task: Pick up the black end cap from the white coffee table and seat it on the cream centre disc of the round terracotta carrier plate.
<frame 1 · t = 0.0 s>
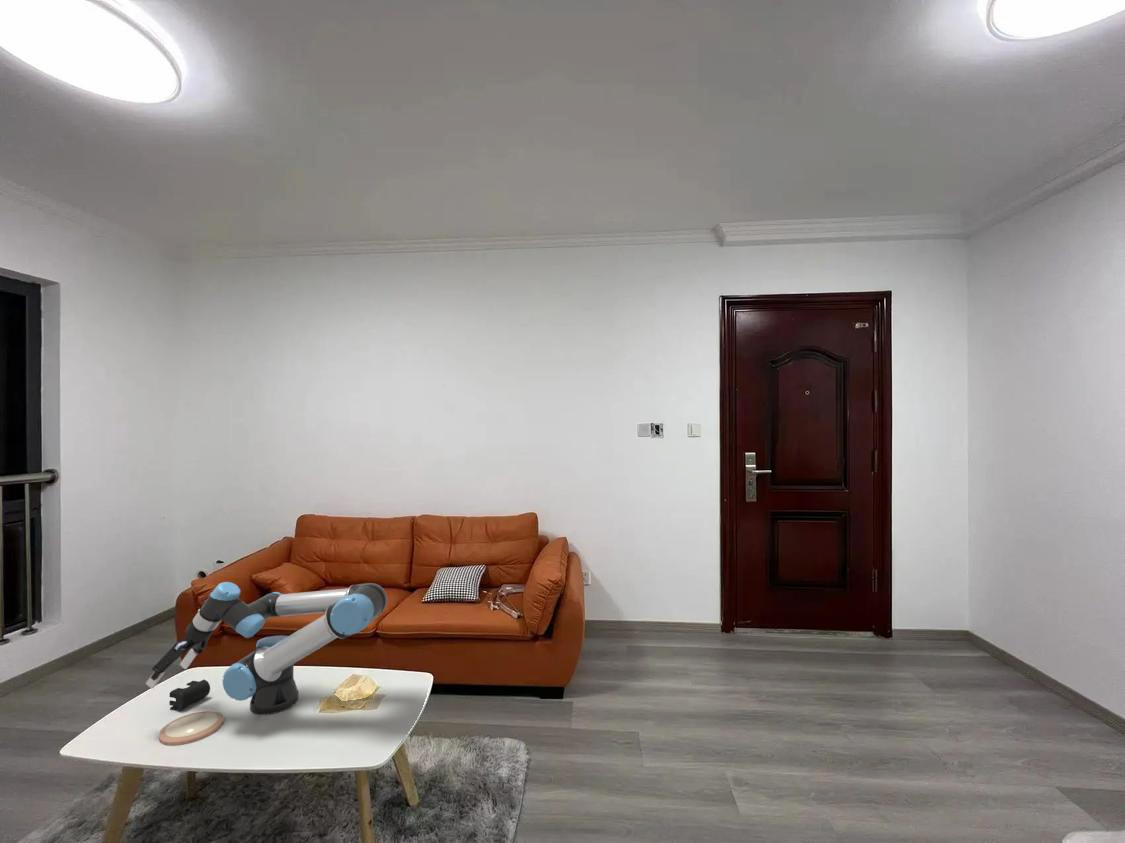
hand: (167, 675, 172), 15 cm above the table, tool tilted 35°, fingers open, 13 cm apart
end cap: (189, 705, 183), on the table
carrier plate: (192, 729, 167), on the table
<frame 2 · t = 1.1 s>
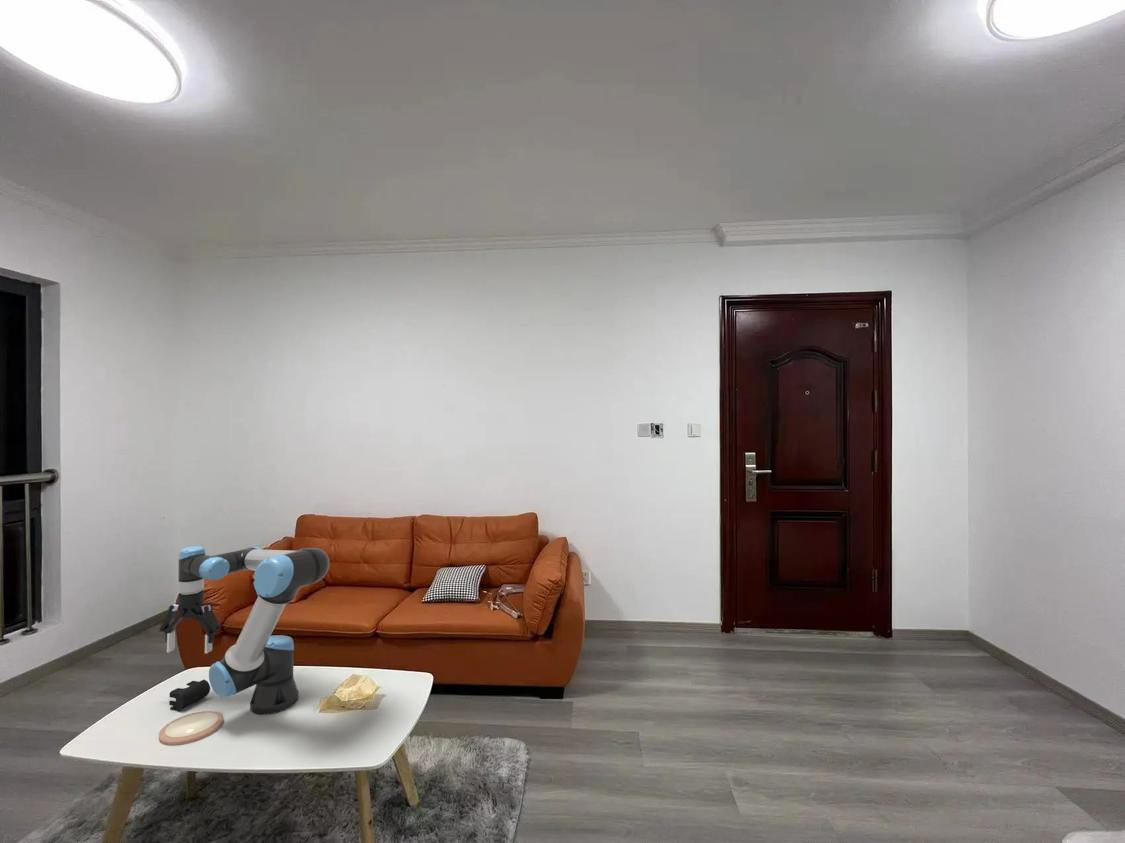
hand: (189, 651, 183), 19 cm above the table, tool pointing down, fingers open, 13 cm apart
nothing on the table moved.
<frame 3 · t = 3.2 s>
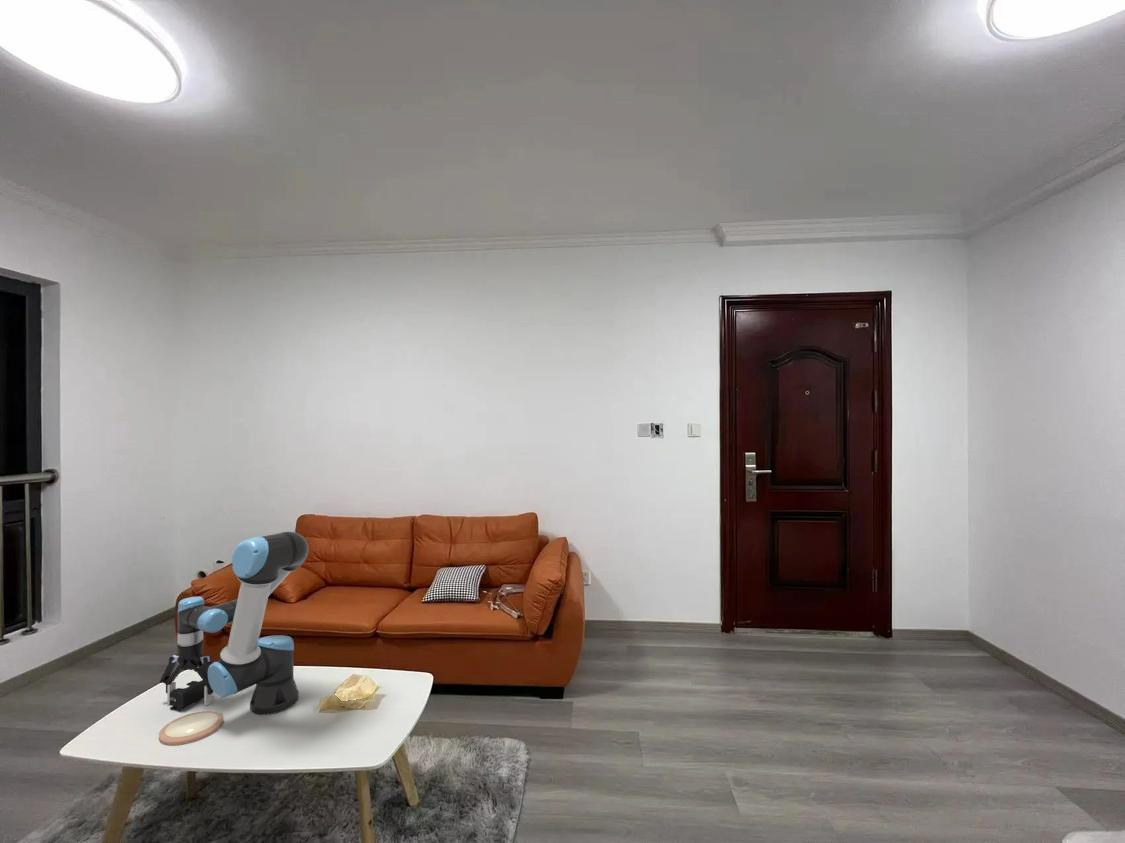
hand: (189, 702, 183), 1 cm above the table, tool pointing down, fingers open, 13 cm apart
nothing on the table moved.
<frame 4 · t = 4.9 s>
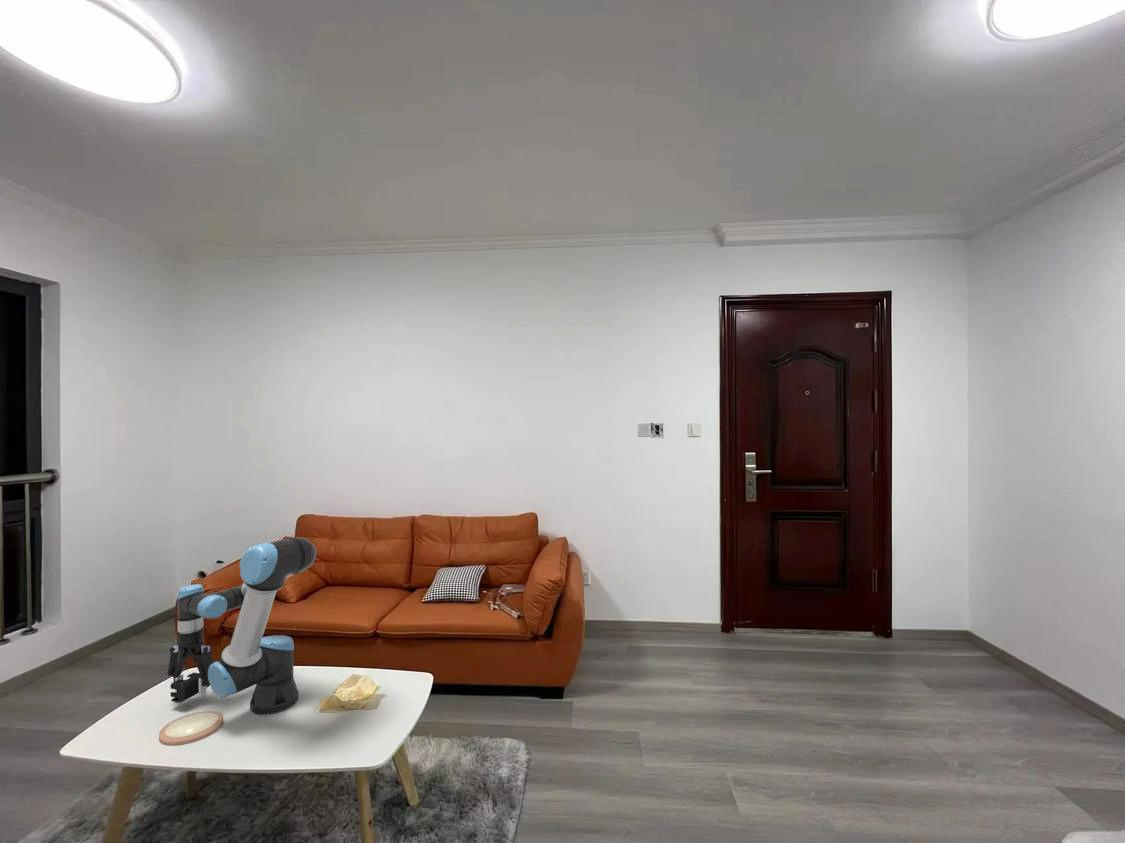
hand: (190, 694, 183), 3 cm above the table, tool pointing down, fingers closed on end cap, 8 cm apart
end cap: (190, 696, 183), point 3 cm above the table, touching gripper
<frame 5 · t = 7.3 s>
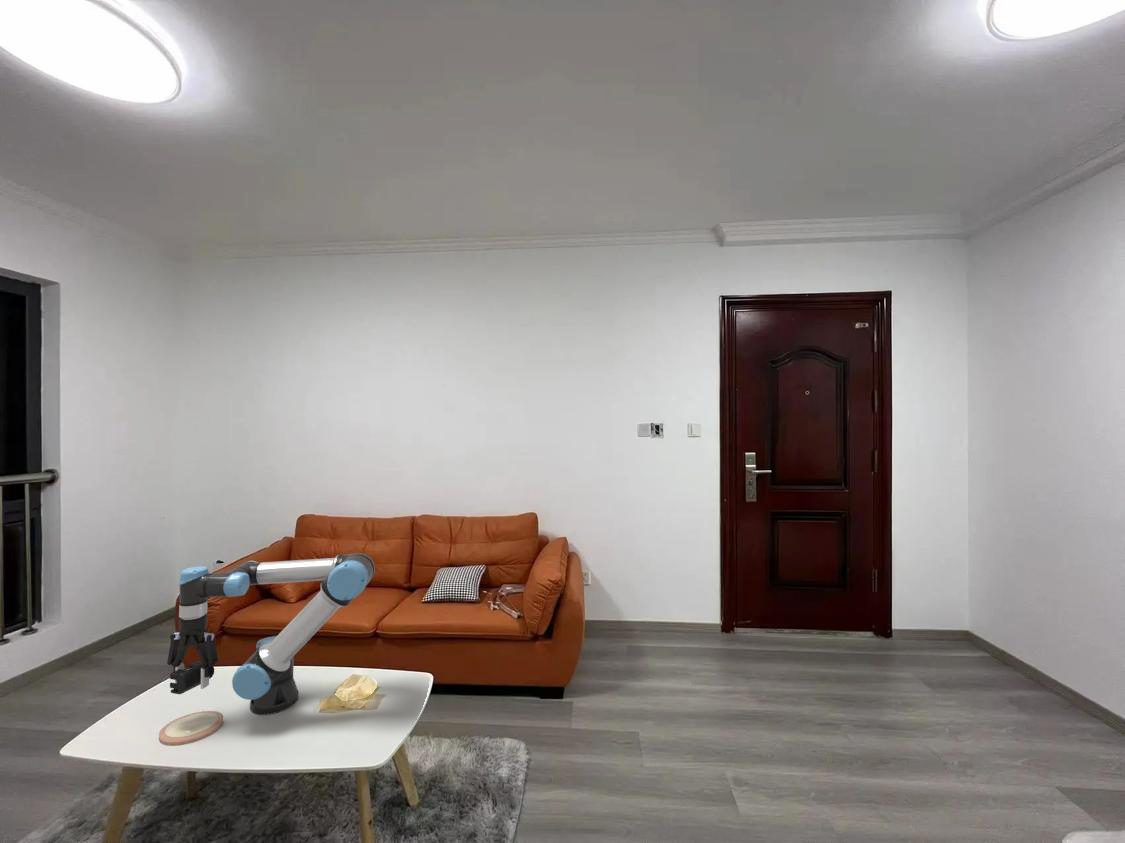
hand: (192, 686, 168), 14 cm above the table, tool pointing down, fingers closed on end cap, 8 cm apart
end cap: (191, 688, 168), point 13 cm above the table, touching gripper
when the fingers open (3 cm above the table, at t = 9.6 s): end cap stays where it is, resting on carrier plate.
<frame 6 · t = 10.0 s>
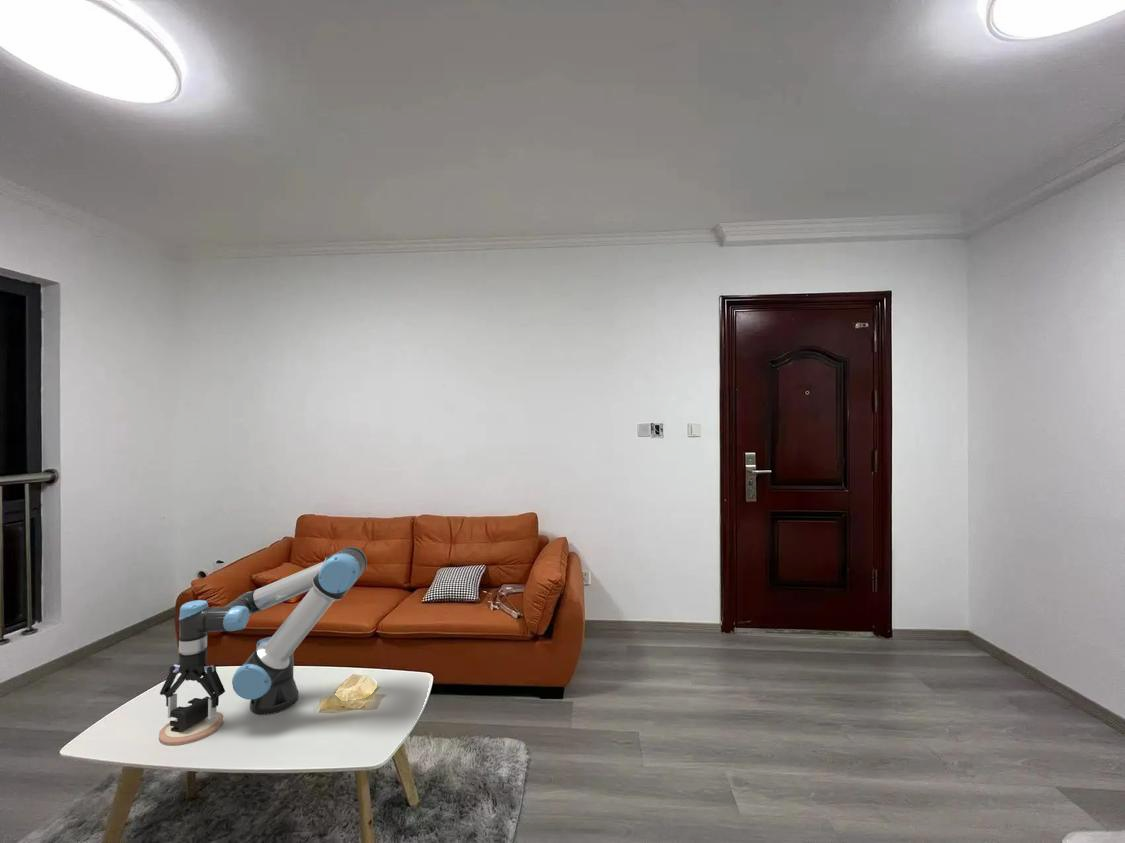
hand: (192, 716, 167), 4 cm above the table, tool pointing down, fingers open, 13 cm apart
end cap: (192, 725, 167), point 1 cm above the table, touching carrier plate
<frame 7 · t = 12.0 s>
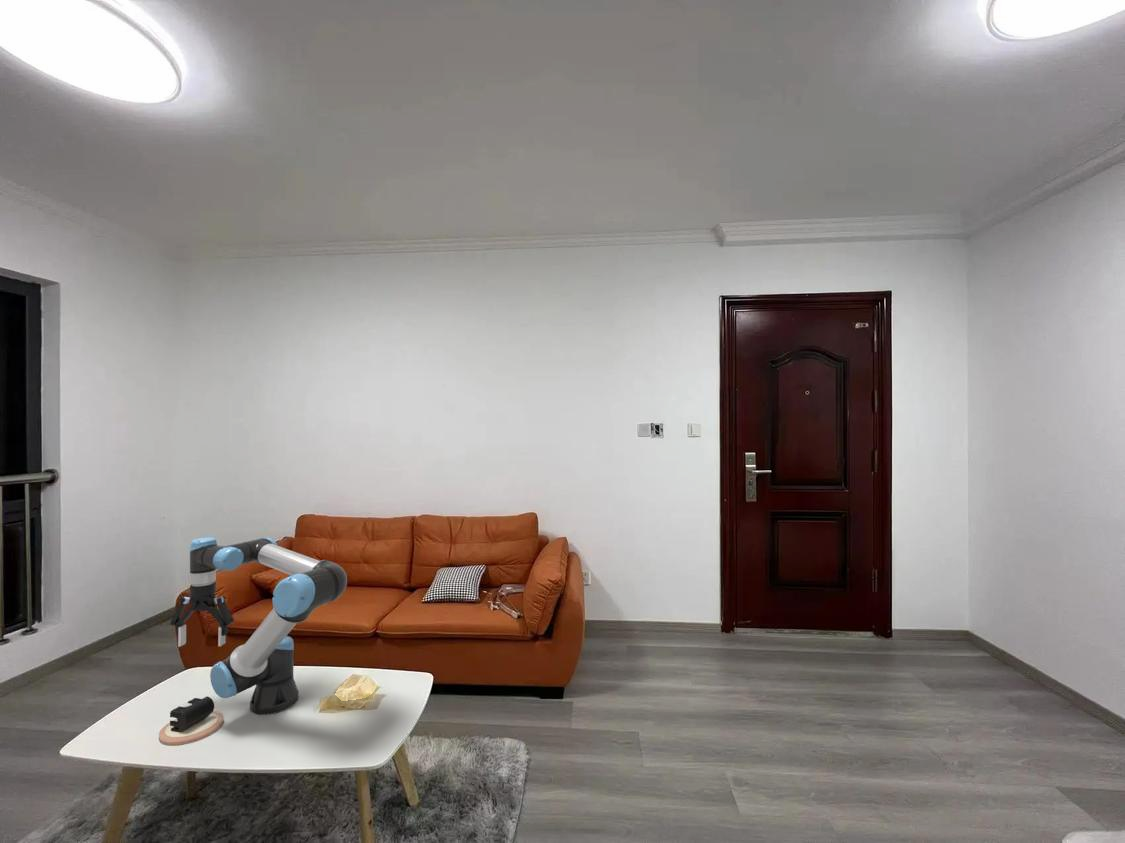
hand: (201, 644, 179), 23 cm above the table, tool pointing down, fingers open, 13 cm apart
nothing on the table moved.
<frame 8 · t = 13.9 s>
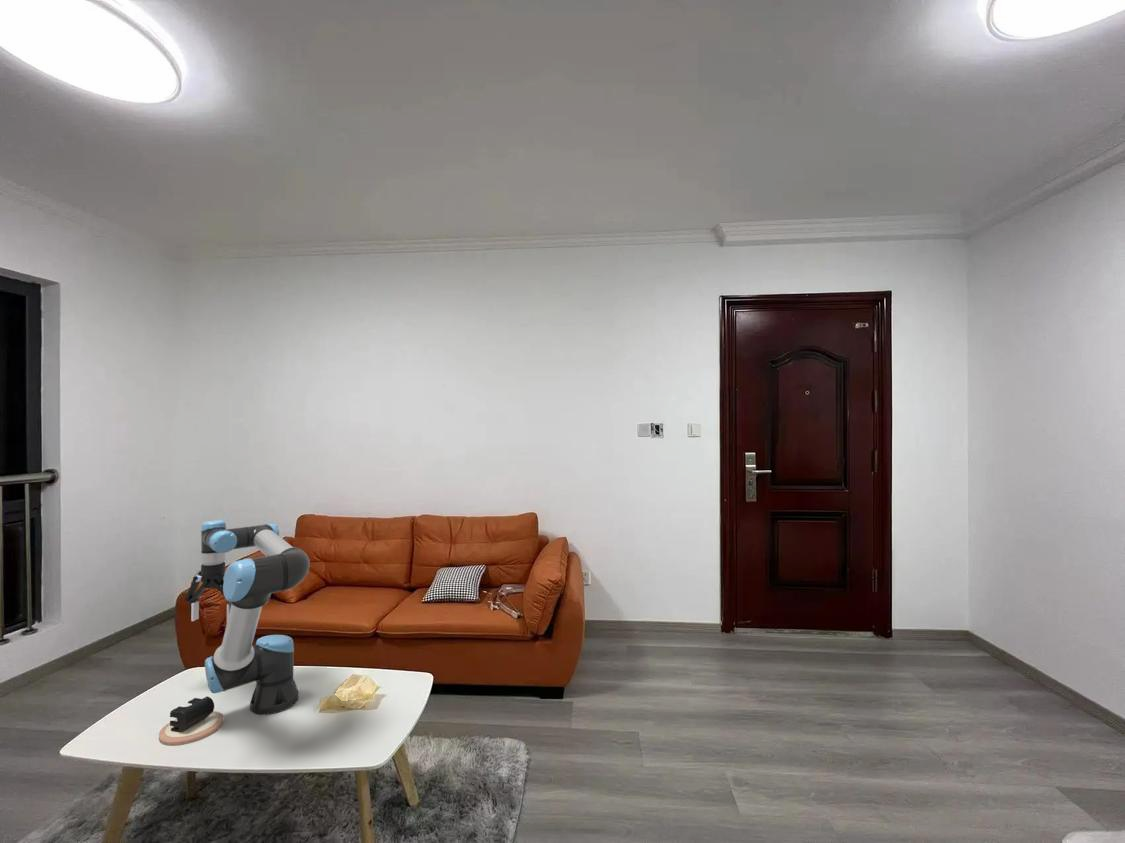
hand: (212, 620, 191), 27 cm above the table, tool pointing down, fingers open, 13 cm apart
nothing on the table moved.
at the end: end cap inside the target area on the carrier plate (0.1 cm from its centre), point 1.5 cm above the carrier plate's base; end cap touching carrier plate; the gripper is holding nothing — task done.
